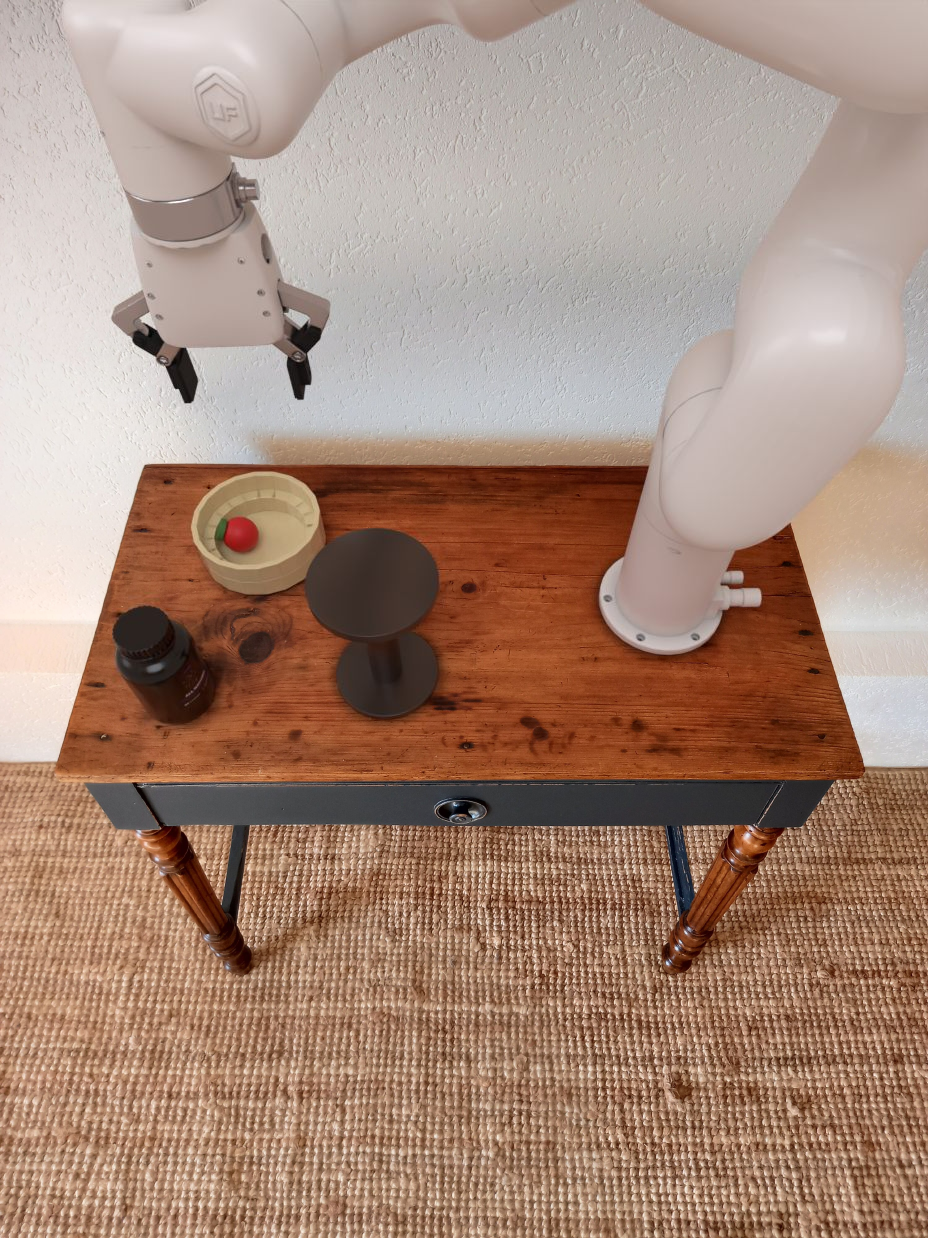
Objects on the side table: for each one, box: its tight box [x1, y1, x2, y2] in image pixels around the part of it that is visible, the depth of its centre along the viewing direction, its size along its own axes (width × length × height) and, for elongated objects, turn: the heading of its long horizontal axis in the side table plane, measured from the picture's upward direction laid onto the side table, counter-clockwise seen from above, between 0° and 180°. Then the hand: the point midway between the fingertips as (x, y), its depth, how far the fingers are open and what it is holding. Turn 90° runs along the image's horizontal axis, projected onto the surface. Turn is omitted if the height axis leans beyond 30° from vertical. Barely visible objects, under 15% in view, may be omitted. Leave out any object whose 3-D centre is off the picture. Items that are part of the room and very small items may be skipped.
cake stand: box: [304, 527, 440, 721], centre depth 72 cm, size 11×11×16 cm
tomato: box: [216, 517, 259, 552], centre depth 86 cm, size 4×4×4 cm
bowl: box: [190, 471, 327, 595], centre depth 86 cm, size 13×13×5 cm
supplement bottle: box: [111, 605, 216, 725], centre depth 73 cm, size 7×7×12 cm
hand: (246, 390), depth 70 cm, fingers open, 9 cm apart
